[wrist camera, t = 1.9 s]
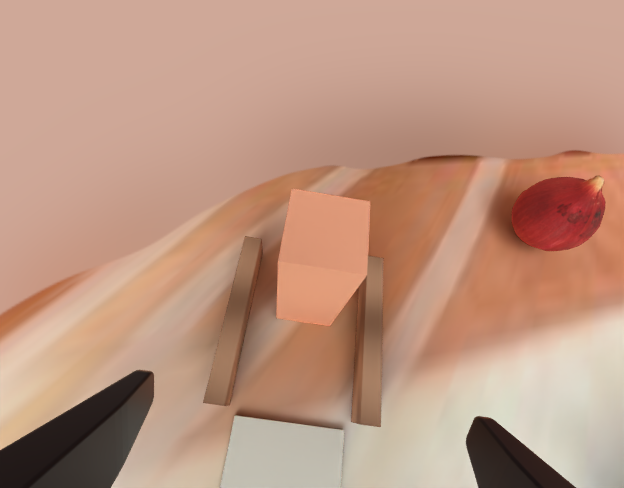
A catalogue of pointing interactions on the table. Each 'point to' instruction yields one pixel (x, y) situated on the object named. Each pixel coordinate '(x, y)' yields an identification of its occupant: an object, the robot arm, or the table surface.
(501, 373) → the table surface
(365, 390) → the channel
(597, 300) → the table surface
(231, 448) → the pad
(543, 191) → the onion
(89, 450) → the robot arm
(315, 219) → the block
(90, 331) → the table surface
